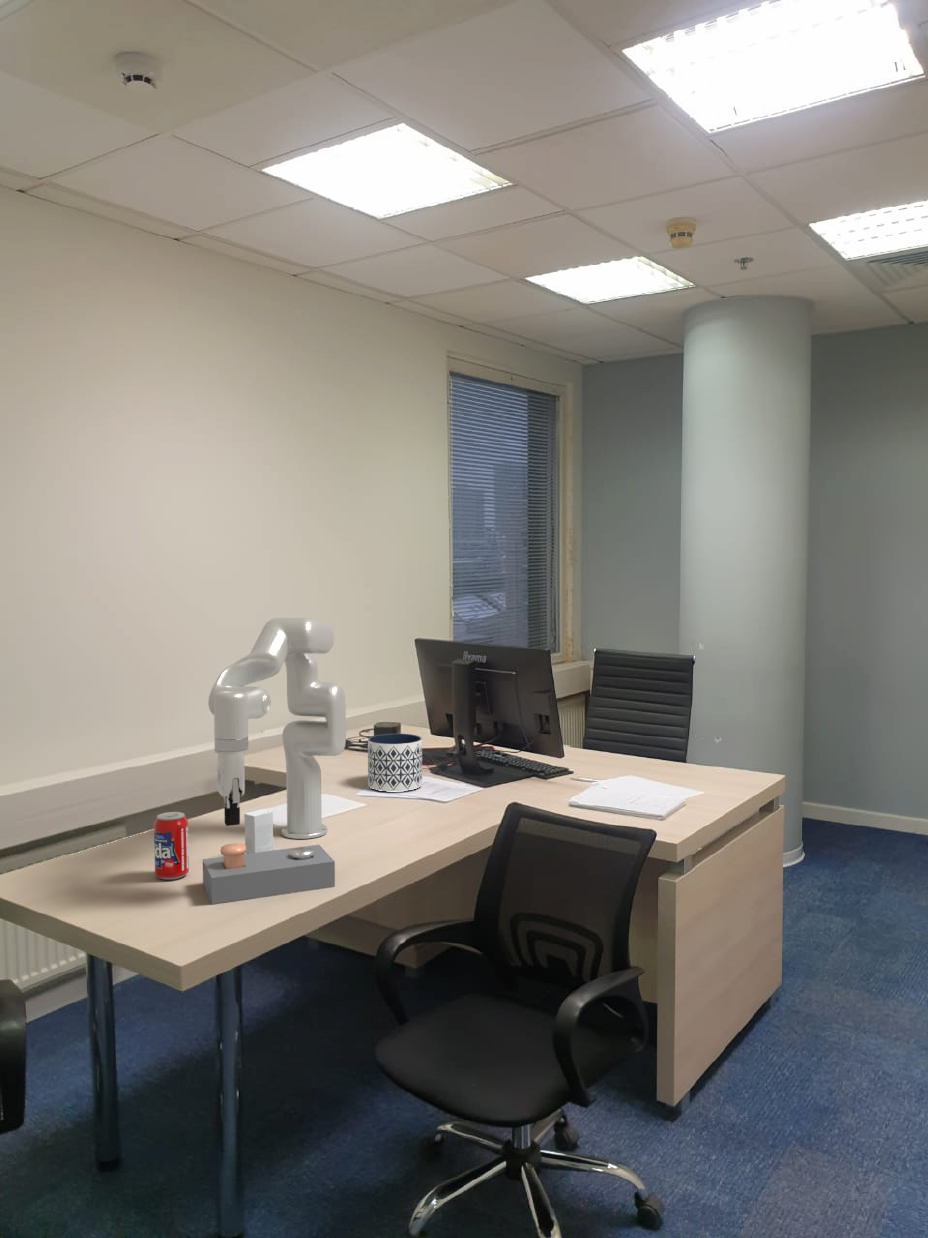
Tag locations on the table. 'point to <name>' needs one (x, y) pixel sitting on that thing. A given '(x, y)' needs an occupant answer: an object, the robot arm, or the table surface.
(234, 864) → the peach dome knob
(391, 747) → the planter
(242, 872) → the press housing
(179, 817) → the soda can
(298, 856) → the grey plunger
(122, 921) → the table surface
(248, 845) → the skincare box
